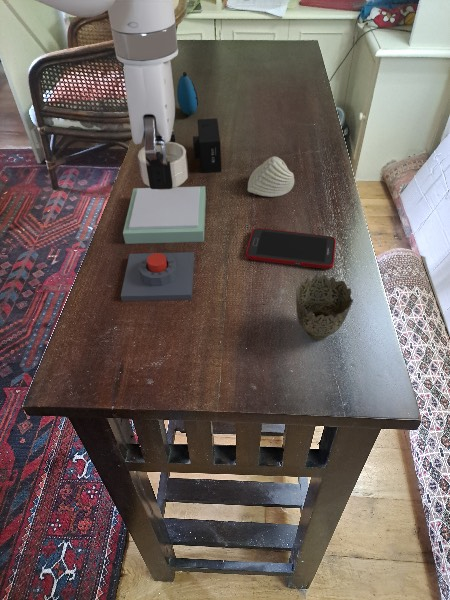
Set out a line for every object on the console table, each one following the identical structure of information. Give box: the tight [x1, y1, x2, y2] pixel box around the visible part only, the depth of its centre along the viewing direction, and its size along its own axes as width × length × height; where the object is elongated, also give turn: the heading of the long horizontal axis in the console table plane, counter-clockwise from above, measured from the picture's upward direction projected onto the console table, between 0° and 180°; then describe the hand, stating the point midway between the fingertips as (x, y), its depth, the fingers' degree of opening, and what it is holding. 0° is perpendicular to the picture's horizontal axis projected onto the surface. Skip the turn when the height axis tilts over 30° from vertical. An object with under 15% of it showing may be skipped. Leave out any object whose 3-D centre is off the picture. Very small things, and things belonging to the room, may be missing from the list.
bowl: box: [137, 142, 189, 190], centre depth 67 cm, size 7×7×4 cm
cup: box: [295, 274, 354, 341], centre depth 63 cm, size 8×7×8 cm
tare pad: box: [120, 251, 196, 302], centre depth 74 cm, size 11×10×3 cm
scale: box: [122, 185, 207, 245], centre depth 85 cm, size 14×14×3 cm
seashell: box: [247, 155, 295, 198], centre depth 90 cm, size 8×8×8 cm
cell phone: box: [245, 227, 337, 270], centre depth 78 cm, size 8×15×1 cm, turn 78°
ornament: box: [176, 71, 199, 116], centre depth 112 cm, size 8×5×10 cm, turn 22°
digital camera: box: [192, 117, 222, 174], centre depth 98 cm, size 10×5×7 cm, turn 4°
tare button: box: [147, 252, 167, 273], centre depth 72 cm, size 3×3×2 cm
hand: (164, 172), depth 67 cm, fingers closed on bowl, 6 cm apart
